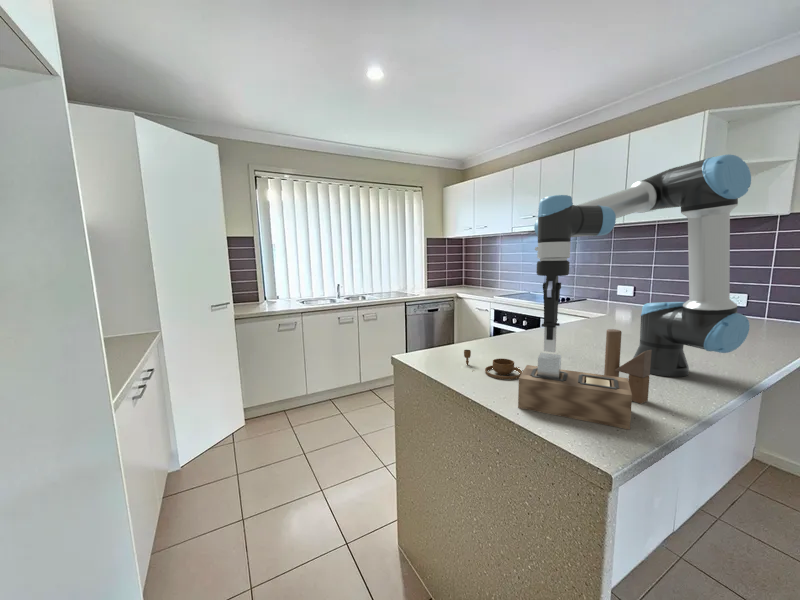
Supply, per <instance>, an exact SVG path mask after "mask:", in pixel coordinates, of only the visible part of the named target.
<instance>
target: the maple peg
mask: <svg viewBox="0 0 800 600" xmlns="http://www.w3.org/2000/svg"><path fill="white" fill-rule="evenodd" d="M586 383H589V384H595V385H602V386H609V387H610V382H609V380H603V379H595V378H588V377H586Z"/></svg>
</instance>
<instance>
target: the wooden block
mask: <svg viewBox="0 0 800 600" xmlns="http://www.w3.org/2000/svg"><path fill="white" fill-rule="evenodd" d="M622 333H623V331H622V330H620V329H616V328H615V329H614V328H610V329H606V335H605V352H604V354H605V355H604V368H603V369H604V370H603V375H607V376H614V377H620V373H623V374H627V375H628V382H629V385H630V389H631V393H632V402H634V403H637V404H641V405H642V404H644V403H647V402H648V401H649V390H650V389H649V388H650V375H651V374H650V365H651V351H652V350H648V351H645V352H643V353H641V354H640V355H638V356H636V357H635V358H633V357H632V358H631V359H630V360H629V361H626V362H625V363H624V364H622V365H621V366H620V364H621V348H622Z"/></svg>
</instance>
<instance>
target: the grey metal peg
mask: <svg viewBox="0 0 800 600" xmlns="http://www.w3.org/2000/svg"><path fill="white" fill-rule="evenodd" d="M561 365H562V354H557V353H555V354H554V353H549V352H546V353H545V352H540V354H539V355H538V357H537V366H538V376H541V377H548V378H555V379H560V373H561V369H562V366H561Z"/></svg>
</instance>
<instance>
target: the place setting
mask: <svg viewBox="0 0 800 600" xmlns="http://www.w3.org/2000/svg"><path fill="white" fill-rule="evenodd" d="M471 350H472V349H464V350H463V357H464V358H465V359H466V360H465V363H466V364H467V365H466V366H469V365H468V364H469V359H470V358H471V354H472V351H471ZM517 367H518V368H520V367H519V366H515V361H514V360H512V359H509V358H496V359H493V360H492V365H488V366H486V367H485V368H484V372H485V374H486V375H487V377H489V378H494V379H497V380H504V379H511V380H516V378H517V379H519V377H520V375H521V374H522V371H521V370H520V369H518V368H517ZM492 368H493V369H492ZM490 369H492V370H493V371H494V372H496V373H497V374H494V373H491V372H489V371H491V370H490ZM488 370H489V371H488ZM514 370H516V371H518V372H519V373H520V374H519V373H518V374H516V375H510V374H512V373H513V372H516V371H514ZM487 371H488V372H487ZM473 372H476V370H474V369H473ZM503 375H506V376H503Z"/></svg>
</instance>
